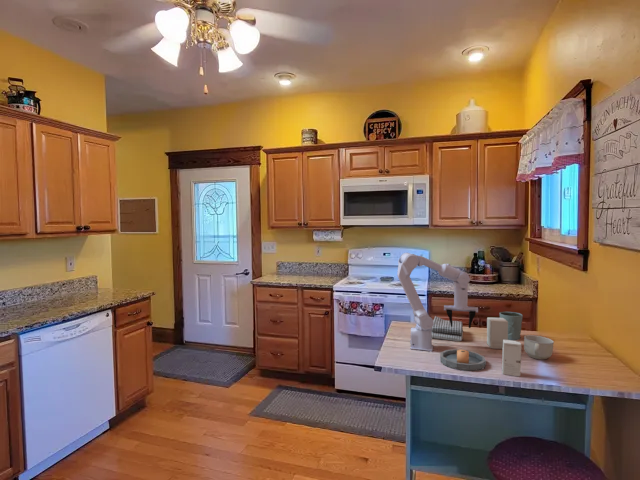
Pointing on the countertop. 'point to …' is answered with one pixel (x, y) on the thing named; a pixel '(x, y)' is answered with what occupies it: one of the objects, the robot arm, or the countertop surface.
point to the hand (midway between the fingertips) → (460, 326)
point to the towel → (447, 329)
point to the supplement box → (496, 332)
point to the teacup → (538, 346)
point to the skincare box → (511, 357)
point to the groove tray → (474, 364)
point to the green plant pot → (513, 324)
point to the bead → (462, 356)
